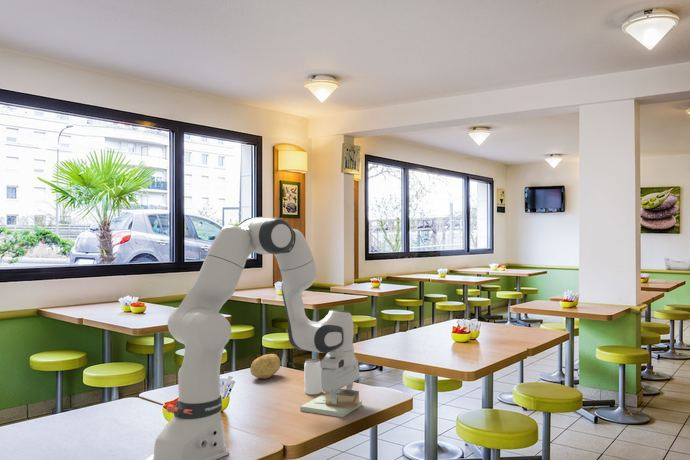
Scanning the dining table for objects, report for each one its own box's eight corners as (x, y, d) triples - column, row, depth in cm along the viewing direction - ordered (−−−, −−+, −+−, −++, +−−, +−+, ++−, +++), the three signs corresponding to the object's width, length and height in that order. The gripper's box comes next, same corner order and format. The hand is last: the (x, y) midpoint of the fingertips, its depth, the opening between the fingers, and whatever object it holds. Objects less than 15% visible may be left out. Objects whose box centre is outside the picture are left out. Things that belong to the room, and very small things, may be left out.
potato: (286, 377, 229) (285, 354, 230) (254, 383, 221) (254, 359, 221) (274, 372, 238) (274, 350, 238) (243, 378, 229) (243, 355, 229)
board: (342, 417, 177) (342, 412, 177) (300, 410, 185) (300, 406, 185) (362, 405, 190) (361, 400, 190) (321, 399, 197) (321, 394, 197)
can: (302, 391, 207) (301, 359, 207) (318, 389, 210) (317, 357, 210) (308, 396, 201) (307, 363, 201) (324, 393, 204) (324, 361, 204)
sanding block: (352, 408, 181) (352, 394, 181) (325, 404, 185) (325, 391, 185) (359, 404, 185) (358, 390, 185) (332, 400, 190) (332, 387, 190)
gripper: (347, 351, 196) (347, 390, 196) (317, 363, 178) (318, 406, 178) (363, 352, 193) (363, 392, 193) (334, 365, 175) (335, 409, 175)
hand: (341, 399), depth 185 cm, fingers open, 8 cm apart
